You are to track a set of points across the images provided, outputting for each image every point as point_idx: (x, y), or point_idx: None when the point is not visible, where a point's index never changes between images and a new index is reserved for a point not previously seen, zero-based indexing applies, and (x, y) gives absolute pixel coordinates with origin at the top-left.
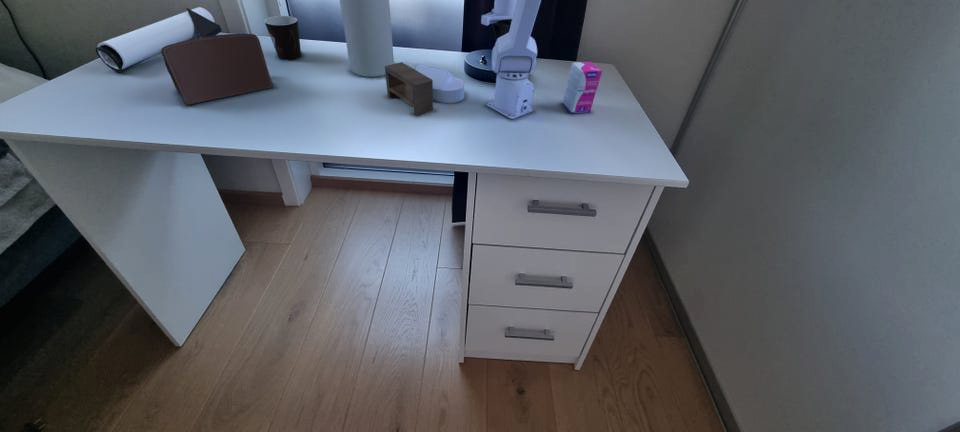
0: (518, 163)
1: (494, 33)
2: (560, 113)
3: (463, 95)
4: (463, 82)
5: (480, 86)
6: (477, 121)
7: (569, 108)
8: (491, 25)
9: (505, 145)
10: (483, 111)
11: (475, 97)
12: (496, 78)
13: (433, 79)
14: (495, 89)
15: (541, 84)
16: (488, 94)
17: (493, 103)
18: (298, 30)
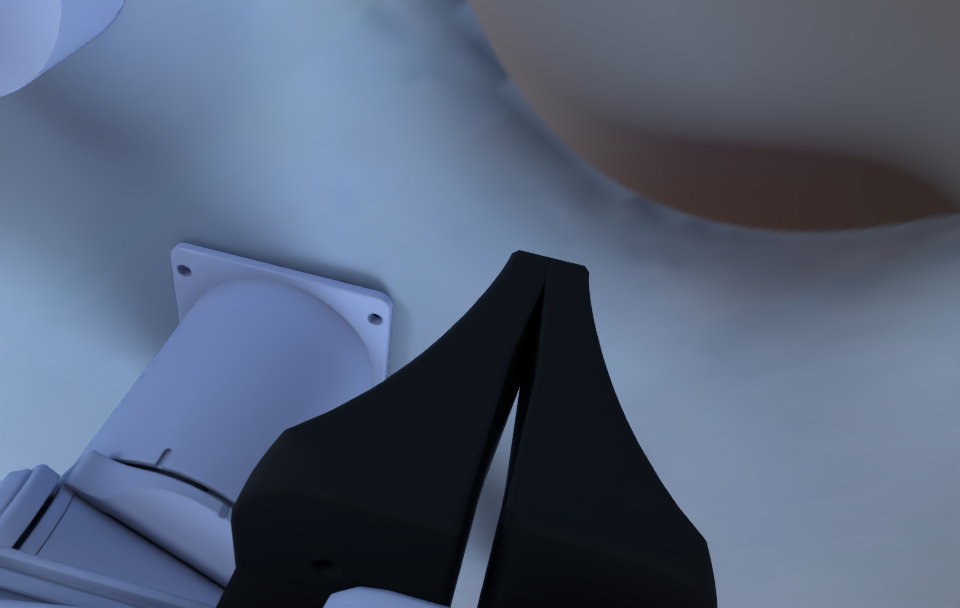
0: None
1: (412, 361)
2: (489, 556)
3: (77, 49)
4: (49, 42)
5: (378, 8)
6: (15, 290)
7: None
8: (307, 422)
9: (31, 462)
10: (115, 259)
11: (190, 107)
12: (103, 431)
13: None
14: (150, 367)
15: (839, 382)
16: (320, 156)
17: (215, 280)
18: None
